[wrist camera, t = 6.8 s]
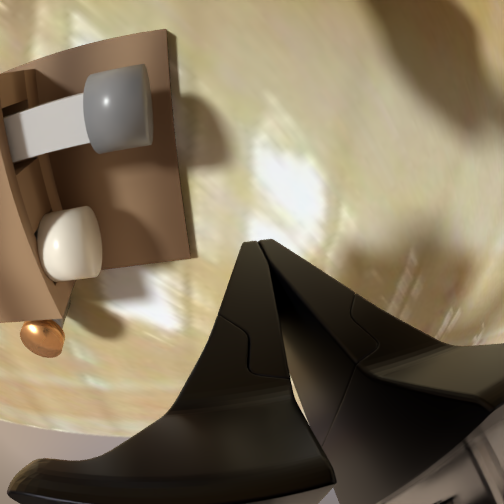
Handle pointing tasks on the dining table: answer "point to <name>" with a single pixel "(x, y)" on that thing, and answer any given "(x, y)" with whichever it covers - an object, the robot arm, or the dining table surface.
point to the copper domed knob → (44, 335)
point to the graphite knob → (88, 117)
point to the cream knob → (70, 244)
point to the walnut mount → (87, 177)
